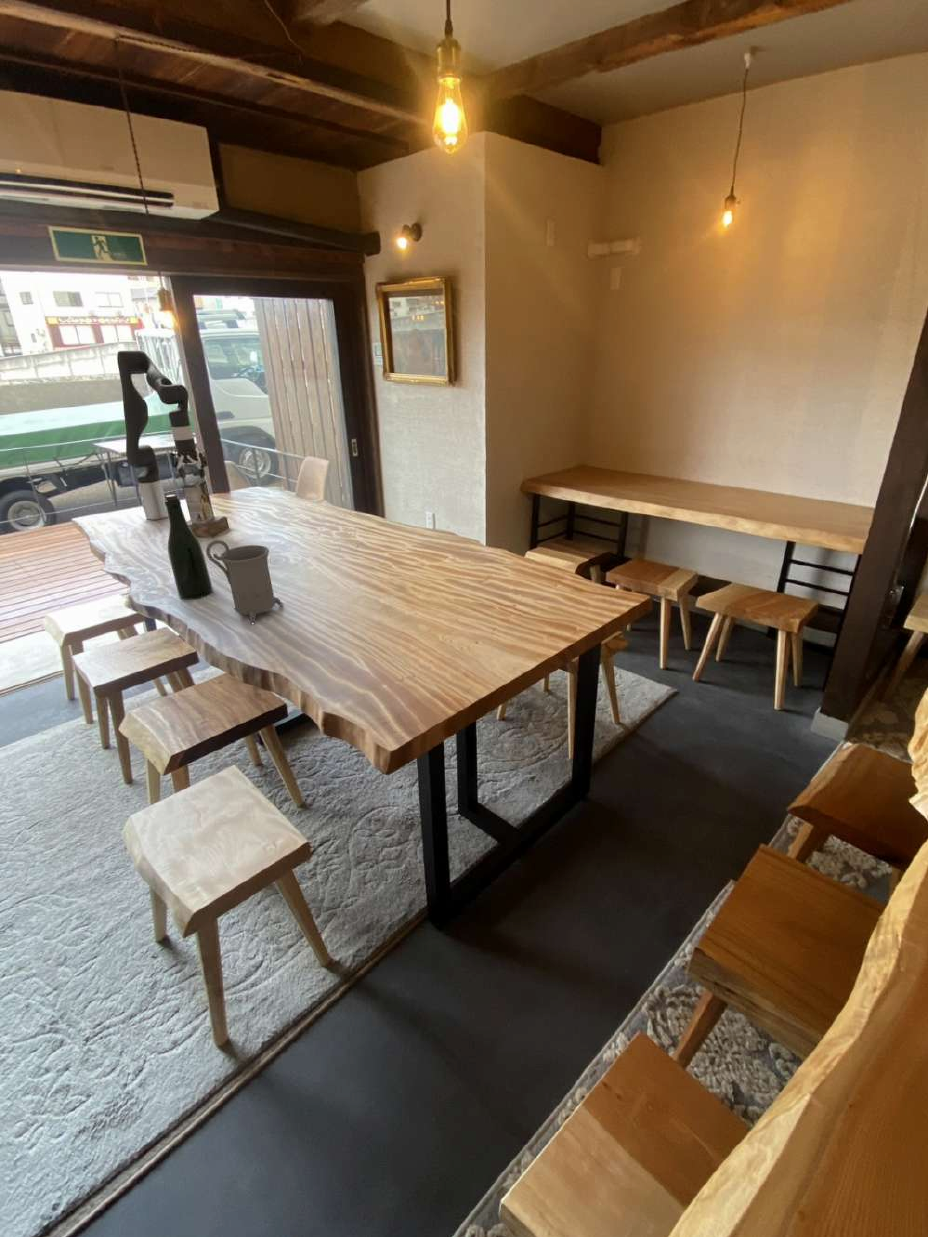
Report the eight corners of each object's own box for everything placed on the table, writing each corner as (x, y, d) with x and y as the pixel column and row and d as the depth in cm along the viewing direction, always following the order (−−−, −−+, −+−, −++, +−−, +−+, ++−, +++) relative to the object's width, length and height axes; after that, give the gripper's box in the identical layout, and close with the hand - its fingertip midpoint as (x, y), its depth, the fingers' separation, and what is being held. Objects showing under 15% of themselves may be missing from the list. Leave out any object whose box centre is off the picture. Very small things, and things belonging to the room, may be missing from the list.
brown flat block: (182, 537, 252) (179, 525, 250) (199, 527, 264) (196, 515, 262) (213, 537, 250) (210, 525, 248) (229, 527, 262) (226, 515, 260)
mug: (273, 597, 190) (258, 522, 179) (293, 612, 180) (278, 533, 169) (215, 615, 180) (195, 536, 169) (232, 631, 170) (212, 549, 159)
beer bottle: (202, 584, 203) (178, 489, 188) (219, 591, 197) (195, 493, 182) (173, 595, 196) (145, 496, 181) (189, 602, 189) (162, 501, 175)
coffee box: (200, 517, 259) (191, 481, 252) (214, 517, 259) (206, 480, 252) (191, 523, 251) (181, 486, 244) (205, 523, 251) (196, 485, 243)
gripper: (204, 435, 242) (213, 475, 249) (172, 436, 244) (182, 475, 251) (195, 439, 235) (204, 479, 242) (162, 439, 237) (172, 479, 244)
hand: (193, 477), depth 247 cm, fingers open, 8 cm apart
